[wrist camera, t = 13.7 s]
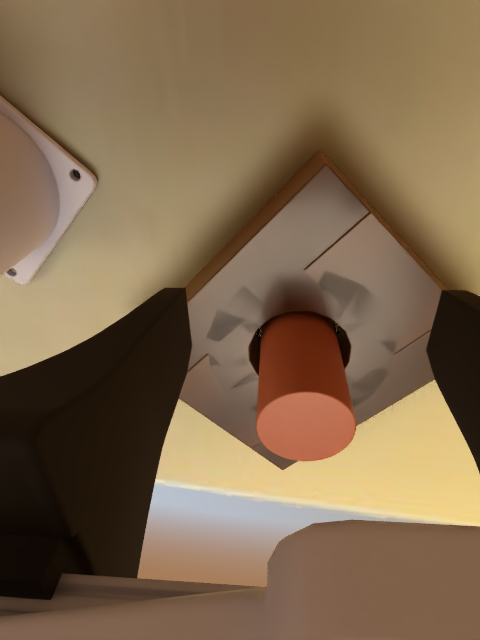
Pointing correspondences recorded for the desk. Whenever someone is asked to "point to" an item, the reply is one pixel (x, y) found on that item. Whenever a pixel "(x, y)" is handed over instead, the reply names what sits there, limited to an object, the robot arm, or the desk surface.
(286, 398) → the peg
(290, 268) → the block with round hole
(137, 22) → the desk surface
